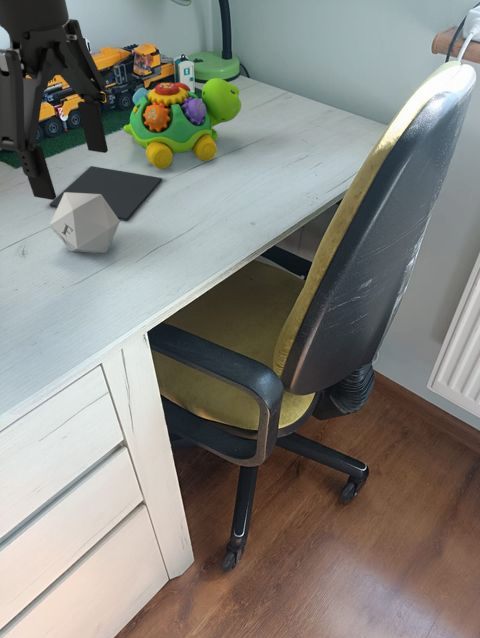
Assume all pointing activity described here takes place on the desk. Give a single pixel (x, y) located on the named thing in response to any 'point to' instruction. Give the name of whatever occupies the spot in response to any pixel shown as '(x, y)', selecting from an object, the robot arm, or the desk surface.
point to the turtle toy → (181, 119)
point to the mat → (114, 189)
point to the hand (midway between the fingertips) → (73, 172)
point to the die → (85, 222)
